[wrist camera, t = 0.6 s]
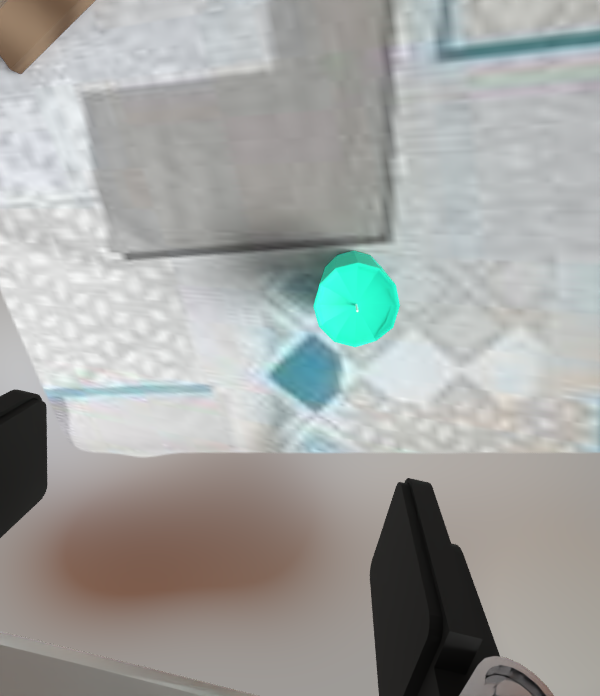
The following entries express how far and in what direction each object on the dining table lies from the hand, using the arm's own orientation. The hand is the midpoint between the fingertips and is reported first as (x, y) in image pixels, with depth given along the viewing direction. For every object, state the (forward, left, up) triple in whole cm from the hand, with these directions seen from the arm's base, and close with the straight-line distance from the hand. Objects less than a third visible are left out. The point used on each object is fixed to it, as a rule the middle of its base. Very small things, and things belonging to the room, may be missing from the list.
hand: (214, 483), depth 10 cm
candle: (-4, +2, -30) cm, 30 cm away
